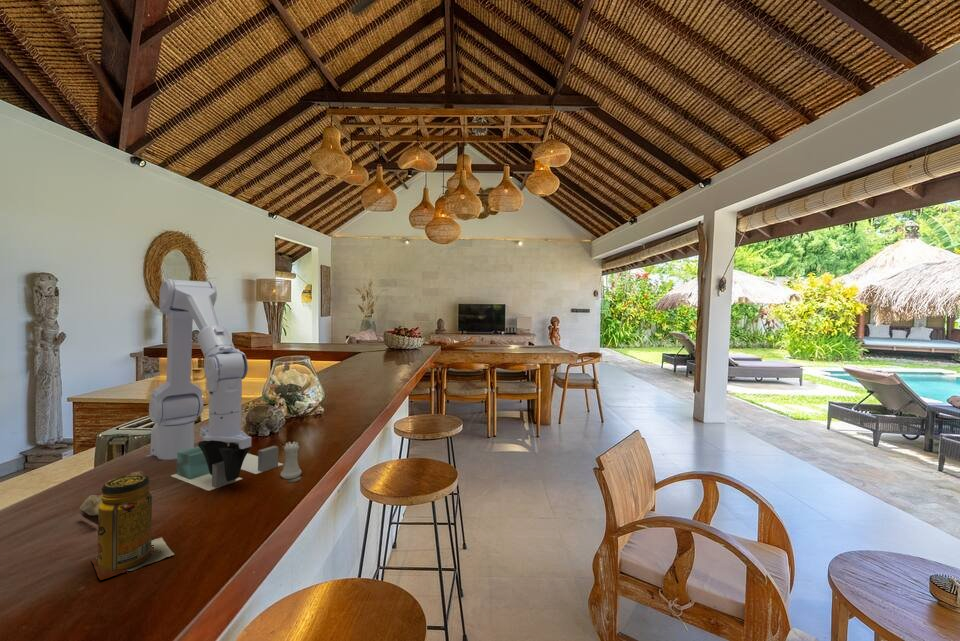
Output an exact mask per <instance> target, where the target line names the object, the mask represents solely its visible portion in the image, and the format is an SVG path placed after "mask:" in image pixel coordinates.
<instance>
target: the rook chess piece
mask: <svg viewBox="0 0 960 641" xmlns="http://www.w3.org/2000/svg"><path fill="white" fill-rule="evenodd" d="M299 449H300V446H299V442H298V441H297V442H296V441H292V442H291V441H288V442H286V443H285V446H284V447H283V450H284V452H285V454H284V457H285V460H284V464H283V465H284V467H283V468H282V471H280V477H281V478H282V479H285V480H287V481H285V482H284V484H293V483H297V482H298V481H300V480H301V479H302V477H303V476H302V475H301V474H302V473H303V472H302V469H301V467H300V466H299V462H298V461H299V460H298V455H299V453H298V450H299ZM290 479H291V480H290Z"/></svg>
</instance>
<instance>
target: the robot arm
mask: <svg viewBox="0 0 960 641" xmlns="http://www.w3.org/2000/svg"><path fill="white" fill-rule="evenodd" d="M217 292H218V291H217V288H216V286H215V284H214V283H213V282H212V281H209V280H207V281H199V280H187V279H186V280H184V279H172V278H165V279H164V280H163V281H162V282H161V284H160V287H159V298H158V299H159V301H158V302H159V303H158V305H159V306H158V307H159V312H160V313H162V314H165V315H166V316H167V349H166V350H167V352H166V380H165V382H163V383H162V384H161V385H159V386H158V387H156V388H155V389H153V390H152V391H151V396H150V401H149V404H148V414H149V419H150V420H151V422H153V424H154V425H153V427H152V428H151V432H150V454H148V455H147V454H146V456H145V457H151V456H155V457H157V459H159V460H165V461H166V460H170V461H171V460H177V452H178V451H182V450H186V449H190V448H194V447H195V421H198V418H199V417H200V416H201V414H202V413H203V411H204V399H203V398H204V397H203V394H202V393H203V392H202V391H203V390H202V388H201V387H200V386H199V385H197V384H196V383H193V381H191V380H192V379H191V377H192V351H193V350H192V349H193V348H192V347H193V323H195V325H196V326H197V328H198V330H199V332H198V334H197V338H196V340H197V342H198V344H199V348H200V350H201V352H202V355H203V358H204V359H205V362H204V366H203V367H204V368H203V371H204V376H205V381H206V390H208V391H209V393H208V394H209V399H208V426H207V425H206V426H202V427H199V437H200V438H202V441H199V442H198V443H197V445H198V446H199V447H200V449H201V450H202V452H203V454H204V456H205V458H206V461H207V465H208V469H209V472H210V475H212V464H215V463H219V462H222V461H224V466H225V477H226V480H227V481H231V480H234V479H237V478H238V477H239V476H240V474H241V470H242V469H241V467H242V464H243V461H244V459H245V456H246V455H247V453H248V454H249V451H250V450H251V448H252V438H253V437H252V436H249V435H248V434H247V433H245V432H244V431H243V430H242V394H243V387H242V386H243V383H242V382H243V380H244V379H245V378H246V377H247V374H248V370H249V364H248V359H247V356H246V354H245V353H244V352H243V351H241V350H240V348H239V349H238V348H235V345H234V342H233V340H232V338H231V336H230V334H229V332H228V329H227V328H225V327H224V326H222V325H221V326H220V324H219V322H218V319H217V315H216V312H215V309H214V306H215V304H216V301H217V296H218V293H217ZM193 321H194V322H193ZM198 446H197V447H198ZM239 478H240V477H239Z"/></svg>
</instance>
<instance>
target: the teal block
mask: <svg viewBox="0 0 960 641" xmlns="http://www.w3.org/2000/svg"><path fill="white" fill-rule="evenodd" d="M209 473H210V472H209V469H208V465H207V461H206V458H205V456H204V454H203V452H202V450H201V449H200V447H199V446H194V448H190V449H186V450H182V451H178V452H177V459H176V474H177V475H179V476H182V477H184V478H187V479H194V478H197V477H200V476H203V475H206V474H209Z"/></svg>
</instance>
